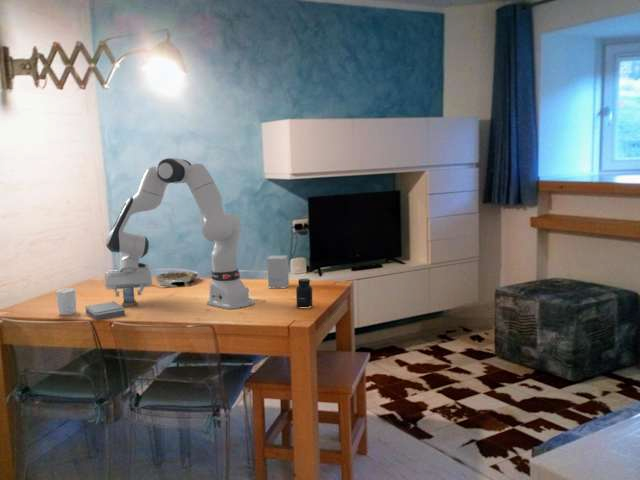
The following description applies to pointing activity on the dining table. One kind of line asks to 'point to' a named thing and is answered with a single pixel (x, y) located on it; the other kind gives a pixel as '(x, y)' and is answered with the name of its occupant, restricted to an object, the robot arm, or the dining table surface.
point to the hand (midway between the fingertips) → (128, 295)
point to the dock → (105, 310)
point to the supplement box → (277, 271)
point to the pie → (175, 278)
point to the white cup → (66, 301)
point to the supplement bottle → (304, 293)
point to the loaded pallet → (128, 297)
